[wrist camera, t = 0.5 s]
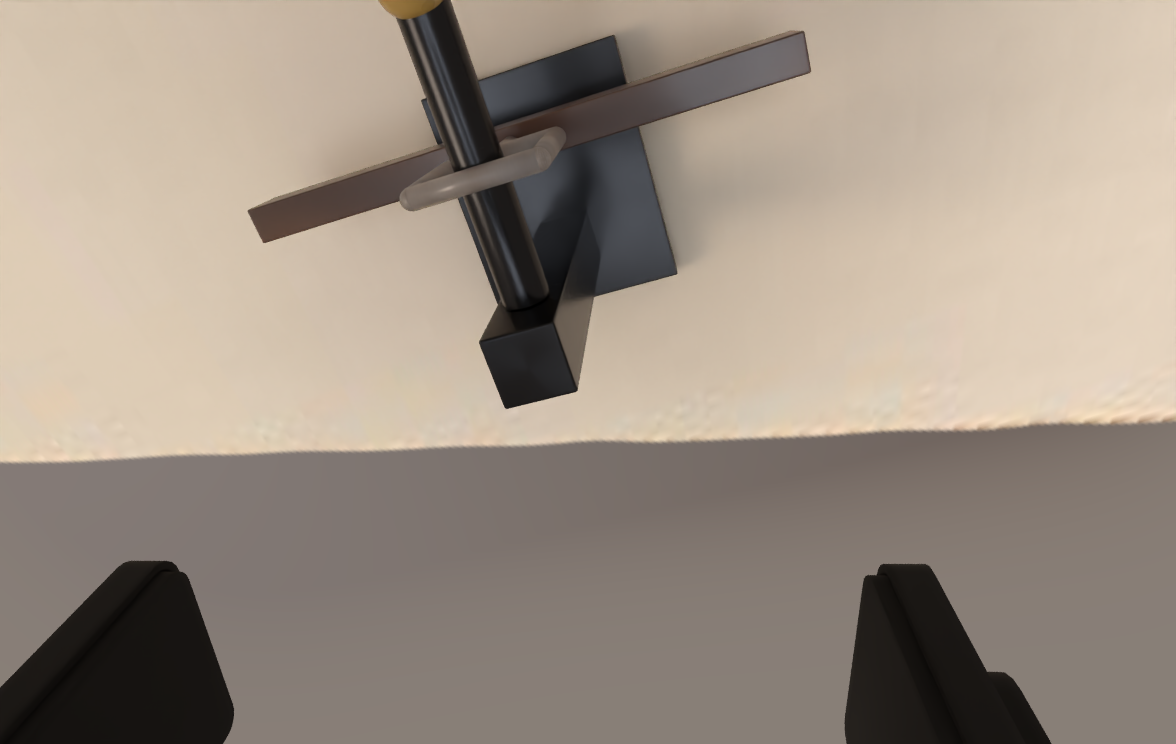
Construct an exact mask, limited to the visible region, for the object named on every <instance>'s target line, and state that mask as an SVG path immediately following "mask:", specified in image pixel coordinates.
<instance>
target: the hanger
mask: <svg viewBox="0 0 1176 744" xmlns="http://www.w3.org/2000/svg"><path fill="white" fill-rule="evenodd" d="M810 72H811V68H810V62H809V56H808V50H807V44H806V38H805V32H804V31H788V32H785V33H782V34H779V35H775V36H772V37H769V38H766V39H763V40H760V41H757V42H754V43H751V44H748V45H745V46H741V47H738V48H735V49H732V50H729V51H726V52H723V53H720V54H717V55H714V56H711V57H708V58H704V59H701V60H698V61H695V62H692V63H689V64H686V65H683V66H680V67H677V68H674V69H670V70H667V71H664V72H661V73H658V74H655V75H652V76H649V77H646V78H643V79H640V80H637V81H633V82H630V83H627V84H624V85H621V86H618V87H615V88H612V89H609V90H606V91H603V92H599V93H596V94H593V95H590V96H587V97H584V98H581V99H578V100H575V101H572V102H569V103H566V104H562V105H559V106H556V107H553V108H550V109H547V110H544V111H541V112H538V113H535V114H532V115H528V116H525V117H522V118H519V119H516V120H513V121H510V122H507V123H504V124H501V125H498V126H495V127H494V128H495V131H496V134H497V137H498V140H499V143H500V146H501V149H502V152H503V154H504V157H503V158H500V159H497V160H493V161H490V162H487V163H484V164H481V165H478V166H474V167H471V168H468V169H465V170H462V171H458V172H455V173H454V171H453V169H452V166H451V163H450V161H449V158H448V155H447V153H446V150H445V147H444V145H443V143H442V144H439V145H436V146H433V147H430V148H427V149H424V150H420V151H417V152H414V153H411V154H408V155H405V156H402V157H399V158H396V159H393V160H390V161H386V162H383V163H380V164H377V165H374V166H371V167H368V168H365V169H362V170H359V171H356V172H353V173H349V174H346V175H343V176H340V177H337V178H334V179H331V180H328V181H325V182H322V183H319V184H315V185H312V186H309V187H306V188H303V189H300V190H297V191H294V192H291V193H288V194H285V195H282V196H278V197H275V198H273V199H271V200H269V201H267V202H264V203H262V204H260V205H258V206H256V207H254V208H251V209H249V210H248V213H249V215H250V217H251V219H252V221H253V223H254V225H255V227H256V229H257V231H258V233H259V235H260V237H261V239H262V241H263V243H266V242H270V241H273V240H276V239H279V238H282V237H286V236H289V235H292V234H295V233H298V232H302V231H305V230H308V229H311V228H315V227H318V226H321V225H324V224H327V223H331V222H334V221H337V220H340V219H343V218H347V217H350V216H353V215H356V214H359V213H363V212H366V211H369V210H372V209H375V208H379V207H382V206H385V205H388V204H391V203H395V202H398V201H400V203H401V205H402V206H403V208H405V209H406V210H408V211H417V210H420V209H423V208H427V207H430V206H433V205H436V204H440V203H443V202H446V201H449V200H453V199H456V198H459V197H462V196H465V195H469V194H472V193H475V192H478V191H482V190H485V189H488V188H491V187H495V186H498V185H501V184H504V183H508V182H511V181H514V180H517V179H521V178H524V177H527V176H530V175H534V174H537V173H540V172H543V171H545V170H547V169H548V168H549V166H550V165H551V163H552V162H553V160H554V159H555V157H556V156H557V154H558V153H559V151H561V150H565V149H568V148H571V147H574V146H577V145H581V144H584V143H587V142H590V141H593V140H597V139H600V138H603V137H606V136H609V135H613V134H616V133H619V132H622V131H625V130H629V129H632V128H635V127H638V126H641V125H645V124H648V123H651V122H654V121H657V120H661V119H664V118H667V117H670V116H674V115H677V114H680V113H683V112H686V111H690V110H693V109H696V108H699V107H702V106H706V105H709V104H712V103H715V102H718V101H722V100H725V99H728V98H731V97H734V96H738V95H741V94H744V93H747V92H750V91H754V90H757V89H760V88H763V87H766V86H770V85H773V84H776V83H779V82H783V81H786V80H789V79H792V78H795V77H799V76H802V75H805V74H808V73H810Z"/></svg>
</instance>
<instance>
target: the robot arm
mask: <svg viewBox="0 0 1176 744" xmlns="http://www.w3.org/2000/svg"><path fill="white" fill-rule="evenodd" d="M233 718H234V708H233V703H232V700H231V698H230V695H229V692H228V689H227V687H226V683H225V681H224V678H223V675H222V672H221V669H220V666H219V663H218V661H217V658H216V655H215V652H214V649H213V646H212V644H211V641H210V638H209V635H208V632H207V630H206V627H205V624H204V621H203V618H202V615H201V612H200V609H199V607H198V604H197V601H196V598H195V595H194V592H193V589H192V587H191V584H190V581H189V579H188V577H187V575H186V574H185V573H183V572H180V571H179V570H178V568H177V566H176V565H175V564H174V563H172V562H169V561H129V562H125V563H123V564H122V565H121V566H119V567H118V568H117V569H116V570H115V571H114V572H113V573H112V574H111V575H110V576H109V577H108V578H107V579H106V580H105V581H104V582H103V583H102V584H101V585H100V586H99V587H98V588H97V589H96V590H95V591H94V592H93V593H92V594H91V595H90V596H89V598H87V599H86V600H85V601H84V602H83V604H82V605H81V606H80V607H79V608H78V609H77V610H76V611H75V612H74V613H73V614H72V615H71V616H70V617H69V618H68V619H67V620H66V621H65V622H64V623H63V624H62V625H61V626H60V627H59V628H58V629H57V630H56V631H55V632H54V633H53V634H52V635H51V636H50V637H49V638H48V639H47V640H46V641H45V642H44V643H43V644H42V646H41V647H40V648H39V649H38V650H37V651H36V652H35V653H34V654H33V655H32V656H31V657H30V658H29V659H28V660H27V661H26V662H25V663H24V664H23V665H22V666H21V667H20V668H19V669H18V670H17V671H16V672H15V673H14V674H13V675H12V676H11V677H10V678H9V679H8V680H7V681H6V682H5V683H4V684H3V685H2V686H1V687H0V744H223V743H224V741H225V740H226V738H227V736H228V734H229V732H230V730H231V727H232V723H233ZM845 736H846V743H847V744H1051V742H1050V740H1049V738H1048V737H1047V735H1046V733H1045V731H1044V730H1043V728H1042V726H1041V724H1040V723H1039V721H1038V719H1037V718H1036V716H1035V714H1034V712H1033V710H1032V709H1031V707H1030V705H1029V703H1028V702H1027V700H1026V698H1025V697H1024V695H1023V693H1022V691H1021V690H1020V688H1019V687H1018V686H1017V684H1016V683H1015V681H1014V680H1013V679H1012V678H1011V677H1010V676H1008V675H1007V674H1006V673H1004V672H1003V673H1002V672H987V671H986V669H985V667H984V665H983V663H982V662H981V660H980V658H979V656H978V654H977V652H976V651H975V648H974V647H973V645H972V643H971V641H970V639H969V637H968V636H967V634H966V632H965V630H964V628H963V626H962V624H961V622H960V621H959V619H958V617H957V615H956V613H955V611H954V609H953V608H952V606H951V604H950V602H949V600H948V598H947V596H946V595H945V593H944V591H943V589H942V587H941V585H940V583H939V581H938V580H937V578H936V576H935V574H934V573H933V571H932V569H931V568H930V567H929V566H928V565H926V564H882V565H880V567H879V569H878V573H877V575H867V576H866V577H865V578H864V582H863V588H862V595H861V603H860V610H859V617H858V625H857V633H856V640H855V647H854V654H853V662H852V669H851V677H850V685H849V691H848V699H847V706H846V713H845Z"/></svg>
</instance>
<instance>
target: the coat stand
mask: <svg viewBox="0 0 1176 744" xmlns="http://www.w3.org/2000/svg"><path fill="white" fill-rule="evenodd" d="M378 1H379V2H380V4H381V5H382V6H383V7H384V8H385V9H386V10H387V11H388V12H389V13H390V14H392V15H393V16H395V17H396V19H397V21H398V24H399V27H400V29H401V32H402V35H403V37H404V40H405V43H406V45H407V48H408V51H409V53H410V56H411V59H412V62H413V64H414V67H415V70H416V72H417V75H418V78H419V80H420V83H421V86H422V88H423V91H424V94H425V96H426V98H425V99H422V100H421V102H422V104H423V107H424V110H425V112H426V115H427V118H428V120H429V123H430V126H431V128H432V131H433V134H434V136H435V139H436V142H437V144H438V145H439V144H442V143H443V145H444V147H445V150H446V153H447V155H448V158H449V161H450V163H451V166H452V169H453V171H454V173H455V172H458V171H462V170H465V169H468V168H471V167H474V166H478V165H481V164H484V163H487V162H490V161H493V160H497V159H500V158H503V157H504V154H503V152H502V149H501V146H500V143H499V140H498V137H497V134H496V131H495V128H494V127H495V126H498V125H501V124H504V123H507V122H510V121H513V120H516V119H519V118H522V117H525V116H528V115H532V114H535V113H538V112H541V111H544V110H547V109H550V108H553V107H556V106H559V105H562V104H566V103H569V102H572V101H575V100H578V99H581V98H584V97H587V96H590V95H593V94H596V93H599V92H603V91H606V90H609V89H612V88H615V87H618V86H621V85H624V84H627V79H626V75H625V72H624V68H623V64H622V60H621V57H620V53H619V49H618V45H617V42H616V38H615V35H612V36H609V37H606V38H603V39H600V40H597V41H594V42H591V43H588V44H585V45H582V46H579V47H576V48H573V49H570V50H568V51H565V52H562V53H559V54H556V55H553V56H550V57H547V58H544V59H541V60H538V61H535V62H532V63H529V64H526V65H523V66H520V67H517V68H514V69H511V70H508V71H505V72H502V73H499V74H496V75H493V76H491V77H488V78H485V79H482V80H479V81H478V79H477V76H476V73H475V70H474V67H473V64H472V61H471V58H470V55H469V53H468V50H467V47H466V44H465V41H464V38H463V35H462V32H461V29H460V26H459V23H458V20H457V18H456V15H455V12H454V9H453V6H452V3H451V0H378ZM458 200H459V203H460V205H461V208H462V211H463V213H464V216H465V219H466V221H467V224H468V227H469V229H470V232H471V235H472V237H473V240H474V242H475V245H476V248H477V250H478V253H479V256H480V258H481V261H482V264H483V266H484V269H485V272H486V274H487V277H488V280H489V282H490V285H491V288H492V290H493V293H494V296H495V298H496V301H497V304H498V306H497V308H496V310H495V312H494V314H493V316H492V318H491V320H490V322H489V323H488V325H487V327H486V329H485V331H484V333H483V335H482V337H481V339H480V341H479V344H480V347H481V349H482V352H483V354H484V357H485V359H486V362H487V364H488V367H489V369H490V372H491V374H492V377H493V379H494V382H495V384H496V387H497V390H498V392H499V395H500V397H501V400H502V402H503V405H504V407H505V408H506V409H509V408H513V407H517V406H521V405H525V404H529V403H533V402H537V401H541V400H545V399H549V398H553V397H557V396H561V395H565V394H569V393H573V392H576V391H577V390H578V385H579V379H580V373H581V368H582V362H583V356H584V351H585V345H586V339H587V334H588V328H589V322H590V317H591V311H592V305H593V300H594V297H595V296H599V295H602V294H606V293H610V292H613V291H617V290H621V289H624V288H628V287H632V286H635V285H639V284H643V283H646V282H650V281H654V280H658V279H661V278H665V277H669V276H672V275H676V274H677V267H676V263H675V259H674V255H673V252H672V248H671V244H670V240H669V237H668V233H667V229H666V225H665V222H664V218H663V214H662V210H661V207H660V203H659V199H658V195H657V192H656V188H655V184H654V180H653V177H652V173H651V169H650V165H649V162H648V158H647V154H646V150H645V147H644V143H643V139H642V135H641V132H640V128H639V126H638V127H635V128H632V129H629V130H625V131H622V132H619V133H616V134H613V135H609V136H606V137H603V138H600V139H597V140H593V141H590V142H587V143H584V144H581V145H577V146H574V147H571V148H568V149H565V150H561V151H559V153H558V154H557V156H556V157H555V159H554V160H553V162H552V163H551V165H550V166H549V168H548V169H547V170H545V171H543V172H540V173H537V174H534V175H530V176H527V177H524V178H521V179H517V180H514V181H511V182H508V183H504V184H501V185H498V186H495V187H491V188H488V189H485V190H482V191H478V192H475V193H472V194H469V195H465V196H462V197H459V198H458Z"/></svg>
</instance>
